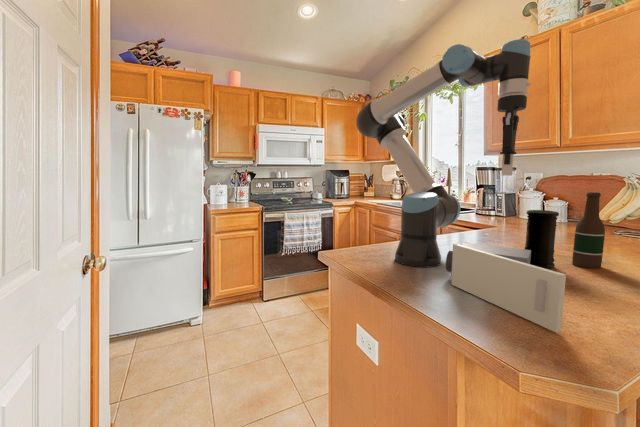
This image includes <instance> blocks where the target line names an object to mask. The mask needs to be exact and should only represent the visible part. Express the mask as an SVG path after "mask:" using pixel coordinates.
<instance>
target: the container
mask: <svg viewBox="0 0 640 427" xmlns="http://www.w3.org/2000/svg"><path fill="white" fill-rule="evenodd" d="M559 214H560V213H559V211H554V210H553V211H552V210H544V209H543V210H541V209H529V210H526V215H527V217H526V218H527V222H526V232H525V243H524V248H523V249H524V250H531V259H530V265H534V266H537V267H541V268H544V269H548V270H551V269H552V270H553V269H554V268H555V266H556V265H555V263H554V262H555V258H554V257H555V255H554V254H555V239H556V231H557V230H556V228H557V220H558V217H559Z"/></svg>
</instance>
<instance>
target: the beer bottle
mask: <svg viewBox="0 0 640 427" xmlns="http://www.w3.org/2000/svg"><path fill="white" fill-rule="evenodd" d="M600 197H602V194H601V193H600V192H598V191H597V192H596V191H595V192H591V191H588V192H587V193H586V202H585V207H584V213H583V216H582V217H581V218H580V219H579V220H578V222H577V223H576V225H575V230H574V239H573V240H574V241H573V250H572V260H571V261H572V265H573V266H576V267H580V268H585V269H590V270H591V269H592V270H593V269H594V270H595V269H598V270H599V269H601V268H602V263H603V262H602V261H603V253H604V244H605V238H606V237H605V235H606V228H605V225H604V222H603V221H602V219H601V218H600Z"/></svg>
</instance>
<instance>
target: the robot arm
mask: <svg viewBox="0 0 640 427" xmlns="http://www.w3.org/2000/svg"><path fill="white" fill-rule="evenodd" d="M531 56H532V55H531V43H530V41H529V40H528V39H514V40H509V41H508V42H506V43H504V44H502V46H501V49H500V52H499V53H496V54H492V55H490V56H486V57H485V56H483V55H481V54H479V53H477V52H476V51H474V50H473V48H471V47H469V46H466V45H464V44H461V43H459V44H454V45H451V46H450V47H448V49H447V50H446V51H445V53H444V54H443V56H442V58H441V60H439V61H438V62H437V63H435V64H433V65H432V66H430V67H428V68H427V69H425V70H424V71H422V72H421V73H419V74H417V75H415V77H413V78H411V79H409V80H408V81H406V82H404V83H403V84H402V85H400V86H399V87H396V88H395V89H394V90H392V91H391V92H390V93H387V94H386V95H385V96H382V98H380V99H377V98H376V99H373V100H371V101H369V102H368V103H367V104H365V105H364V106H363V107H362V108H360V110H359V112H358V114H357V116H356V121H355V123H356V128H357V131H358V132H359V133H360V134H361V135H363V136H364V137H366V138H371V139H375V140H376V141H377V143H378V144H379V146H380V147H381V148H382V149H386V150H387V152H388V153H389V155H390V156H391V158H392V159H393V161H394V163H395V165H396V166H397V168H398V170H399V172H400V173H401V175H402V176H403V177H404V179H405V181H406V182H407V184H408V186H409V187H410V190H412V193H408V194H405V195H404V196H403V197H402V199H401V200H402V201H401V205H400V206H401V207H400V208H401V222H400V224H401V225H400V226H401V227H400V239H399V242H398V246H397V248H396V250H395V255H394V259H395V260H394V261H396V262H397V263H399V264H401V265H404V266H405V265H406V266H411V267H419V268H432V267H438V266H439V265H441V264H442V255H441V251H440V248H439V245H438V241H437V234H438V233H437V232H438V231H437V230H438V228H443V227H447V226H449V225H451V224H454V223H455V222H456V221H457V220H458V218H459V217H460V215H461V205H460V202H459V200H458V199H457V198H456V197H455V196H453V195H452V194H449V193H448V191H446V188H444V186H443V185H442V184H437V183H436V182H435V180H434V178H433V177H432V175H431V174H430V172H429V171H428V169H427V168H426V166H425V165H424V163H423V162H422V160H421V159H420V157H419V156H418V154H417V153H416V151H415V149H414V148H413V146H412V145H411V143H410V141H409V140H408V138H407V137H406V134H407V129H406V128H405V127H406V123H405V119H404V118H403V116H402V115H401V114H400V113H401V112H403V111H405V110H406V109H408V108H409V107H411V106H414V105H415V104H417V103H418V102H420V101H422V100H424V99H426V98H427V97H429V96H431V95H432V94H434V93H436V92H437V91H438V92H439V90H441V89H443V88H446V87H447V86H448V85H450V84H453V83H454V82H456V81H457V80H458V82H459V84H460V86H462V87H463V88H465V87H474V86H477V85H481V84H485V83H491V82H494V81H495V82H496V81H498V90H497V91H498V92H497V97H498V100H497V108H496V110H497V112H499V113H504V116H502V120H501V121H502V146H501V151H500V153H499V154H500V155H502V160H501V162H502V163H501V176H505V177H506V176H507V177H508V176H511V177H512V176H513V168H514V155H516V154H517V151H516V149H515V148H516V140H517V139H516V138H517V131H518V123H519V121H520V116H519V114H517V112H518V111H519V112H520V111H523V110H526V108H527V103H528V102H527V101H528V96H527V94H528V87H530V86H531V83H530V82H529V73H530V64H531V63H530V62H531Z"/></svg>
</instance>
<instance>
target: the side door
mask: <svg viewBox="0 0 640 427" xmlns="http://www.w3.org/2000/svg"><path fill="white" fill-rule="evenodd" d="M452 251H453V254H452V272H450V273H451V276H450V285H452V286H454V287H456V288H458V289H461V290H463V291H465V292H467V293H469V294H472V295H474V296H475V297H478V298H480V299H482V300H485V301H487V302H489V303H491V304H493V305H495V306H497V307H500V308H502V309H503V310H506V311H508V312H510V313H512V314H514V315H516V316H519V317H521V318H523V319H526V320H528V321H531V322H532V323H535V324H537V325H539V326H541V327H543V328H546V329H547V330H549V331H552V332H554V333H560V332H561V331H562V323H563V322H562V321H563V310H564V302H565V300H564V299H565V291H566V281H567V274H565V273H562V272H559V271H554V270H553V269H552V270H551V269H544V268H541V267H537V266H534V265H530V264H527V263H523V262H520V261H516V260H512V259H509V258H505V257H502V256H498V255H495V254H491V253H488V252H484V251H480V250H477V249H473V248H470V247H466V246H463V245H462V244H458V243H452Z"/></svg>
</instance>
